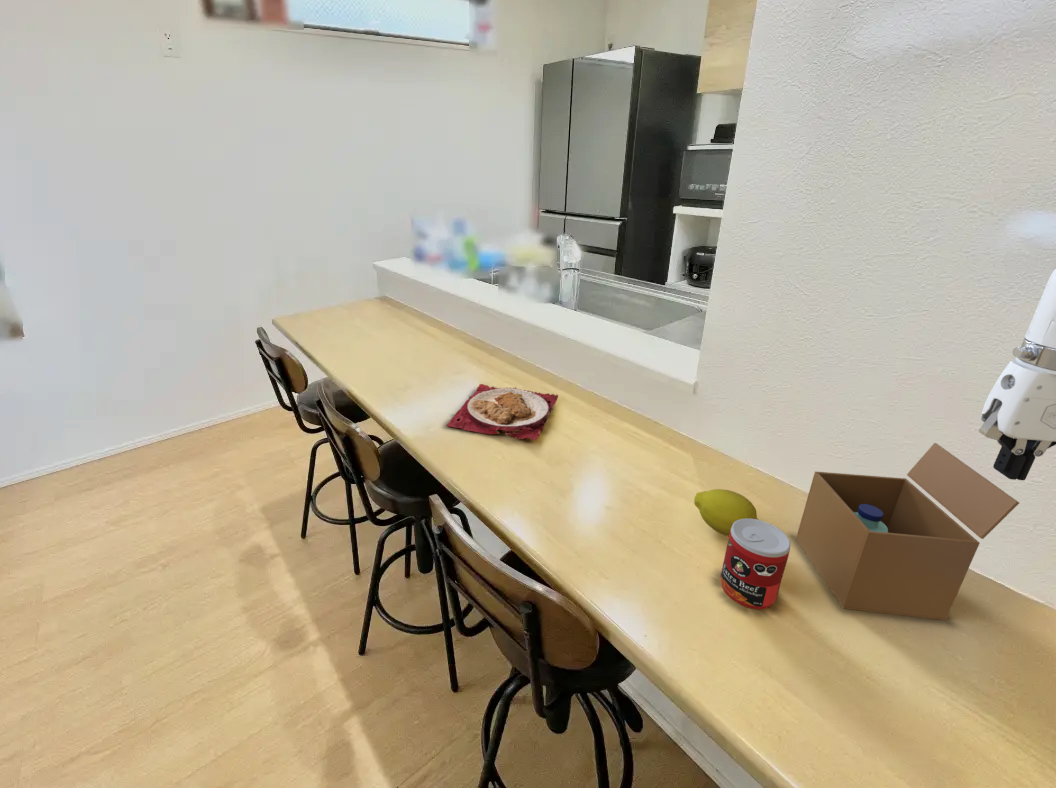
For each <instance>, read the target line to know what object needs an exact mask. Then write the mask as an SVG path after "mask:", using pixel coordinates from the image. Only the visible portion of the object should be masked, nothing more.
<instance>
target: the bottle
mask: <svg viewBox="0 0 1056 788" xmlns="http://www.w3.org/2000/svg"><path fill="white" fill-rule="evenodd" d="M854 513H855V514H856V516H857V517H858V518H859V519H860V520H861V521H862V522H863V523H864V525H865V526H866V527H867V528H868V529H869V530H870V531H876V532H886V533H888V528H887V527H886V525H885V524H884V523H883V522H881V520H882V518H883V515H884V514H883V512H882V511H881V510H880V509H878V508H877V507H875V506H872V505H868V504H861V505H859V508H858V512H854Z"/></svg>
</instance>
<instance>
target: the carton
mask: <svg viewBox="0 0 1056 788" xmlns="http://www.w3.org/2000/svg"><path fill="white" fill-rule="evenodd" d="M861 504H868V505H872V506H875V507H877V508H878V509H880V510H881V511H882V512H883V514H884V515H883V518H882V520H881V522H883V523H884V524H885V525H886V527H887V528H888V533H886V532H876V531H870V530H869V529H868V528H867V527H866V526H865V525H864V523H863V522H862V521H861V520H860V519H859V518H858V517H857V516H856V514H855V513H854V512H858V508H859V505H861ZM795 540H796V541H797V543H798V544H799V546H800V547H801V549H802V550H803V552H804V553H805V555H806V556H807V558H808V559H809V561H810V562H811V564H812V565H813V566H814V568H815V569H816V571H817V573H818V574H819V575H820V577H821V578H822V580H823V581H824V583H825V584H826V586H827V588H828V589H829V591H830V592H831V593H832V595H833V597H834V598H835V599H836V601H837V602H838V603H839V605H840V606H841V608H842V609H846V610H851V611H853V610H854V611H862V612H869V613H879V614H880V613H881V614H888V615H889V614H890V615H897V616H905V617H914V618H922V619H930V620H940V621H946V620H947V618H948V616H949V613H950V611H951V609H952V606H953V605H954V603H955V600H956V597H957V595H958V593H959V591H960V589H961V586H962V584H963V582H964V579H965V578H966V575H967V573H968V570H969V568H970V566H971V564H972V562H973V559H974V557H975V555H976V553H977V551H978V548H979V546H980V544H981V543H980V541H978V539H976V538H975V537H973V536H972V535H971V533H969V532H968V531H967V530H966V529H965V528H963V527H962V526H961V525H960V524H959V523H957V521H955V520H954V519H953V518H952V517H950V516H949V514H947V513H946V512H945V511H944V510H943V509H942V508H941V507H940V506H938V505H937V504H936V503H935V502H933V501H932V499H930V498H929V497H928V496H927V495H925V494H924V493H923V492H922V491H921V490H920V489H919V488H917V487H916V486H915V485H914V484H913V483H912V482H910V481H909V479H907V478H905V477H893V476H892V477H891V476H878V475H868V474H867V475H865V474H852V473H841V472H826V471H814V473H813V477H812V481H811V484H810V486H809V491H808V495H807V499H806V501H805V506H804V509H803V513H802V516H801V519H800V523H799V526H798V530H797V533H796V537H795Z"/></svg>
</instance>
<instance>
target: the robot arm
mask: <svg viewBox="0 0 1056 788" xmlns="http://www.w3.org/2000/svg"><path fill="white" fill-rule="evenodd" d="M1039 299H1040V300H1039V301H1038V304H1037V307H1036V309H1035V312H1034V314H1033V317H1032V319H1031V321H1030V323H1029V326H1028V328H1027V331H1026V332H1025V335H1024V338H1023V340H1022V342H1021V345H1020V347H1019V346H1017V347H1014V348H1013V350H1012V356H1013V357H1016V358H1015V359H1012V360H1010V361H1009V362H1008V364H1007V365H1006V366H1005V368H1004V369H1003V371H1002V372H1001V373H1000V375H999V377H998V378H997V379H996V381H995V383H994V385H993V387H992V388H991V390H990V392H989V394H988V396H987V398H986V400H985V403H984V405H983V407H982V411H981V413H980V420H981V421H982V422H983V424H982V425H981V426H980V428H979V429H978V433H979V434H981V435H982V436H984V437H985V438H987V439H991V440H995V441H997V444H998V445H999V446H1001V447H1000V449H999V452H998V454H997V456H996V458H995V460H994V463H993V466H992V467H993V469H994V470H995V471H997V472H998V473H1000V474H1002V475H1003V476H1005V478H1007V479H1009V480H1013V481H1015V480H1018V481H1025V480H1026V479H1027V477H1028V475H1029V472H1030V470H1031V469H1032V466H1033V464H1034V462H1035V459H1036V458H1039V457H1042V456H1044V454H1045V453H1046V451H1047V450H1049V449H1050V448H1052V447H1054V446H1056V268H1055V269H1054V270H1053V271H1052V272H1051V274H1050V276H1049V278H1048V281H1047V282H1046V285H1045V288H1044V290H1043V292H1042V295H1041V297H1040V298H1039Z"/></svg>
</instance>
